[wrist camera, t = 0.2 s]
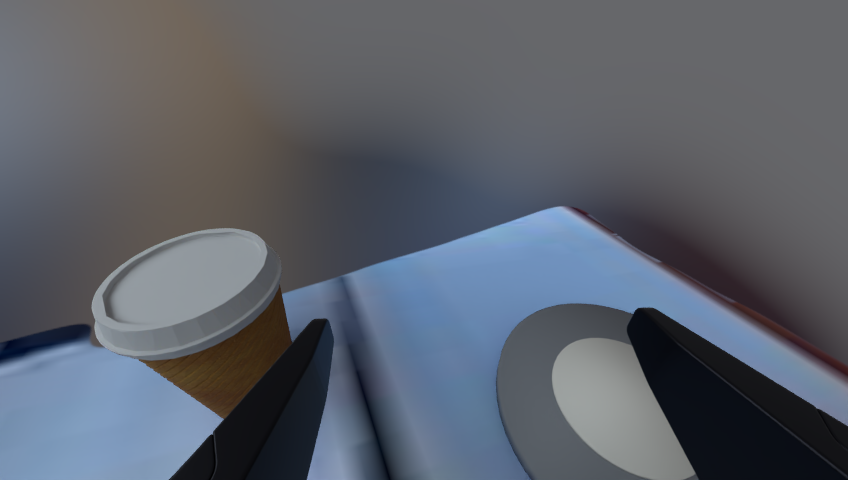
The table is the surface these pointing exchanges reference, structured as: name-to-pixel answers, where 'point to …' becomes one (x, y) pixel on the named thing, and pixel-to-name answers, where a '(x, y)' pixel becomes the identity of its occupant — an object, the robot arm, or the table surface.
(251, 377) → the disposable coffee cup
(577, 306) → the disc
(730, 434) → the robot arm
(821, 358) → the table surface
